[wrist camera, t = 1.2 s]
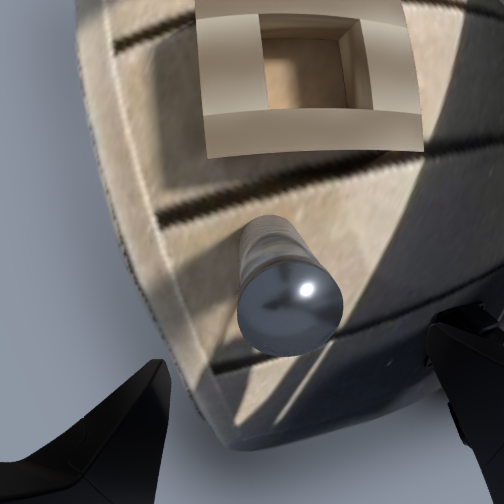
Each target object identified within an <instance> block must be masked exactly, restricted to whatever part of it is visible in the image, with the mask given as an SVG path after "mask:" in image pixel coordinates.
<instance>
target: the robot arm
mask: <svg viewBox="0 0 504 504" xmlns="http://www.w3.org/2000/svg"><path fill="white" fill-rule="evenodd" d="M484 309H485V303H483V302H482V301H481V302H477V303H473V304H470V305H466V306H462V307H459V308H456V309H452V310H448V311H444V312H441V313H440V314H439V315H438V316H437V319H436V323H434V324H432V325H430V327H429V331H428V335H427V339H426V343H425V348H426V351H427V353H428V354H427V357H426V360H425V364H424V366H425V367H426V369H430V368H433V367H434V370H435V372H436V375H437V377H438V379H439V382H440V384H441V386H442V388H443V390H444V392H445V393H446V395H447V397H448V399H449V402H448V407H449V409H450V413H451V415H452V418H453V420H454V423H455V425H456V428H457V430H458V433H459V436H460V438H461V440H462V442H463V444H464V445H468V446H469V447H470V448H472V450H473V452H474V454H475V456H476V459H477V461H478V464H479V466H480V468H481V471H482V474H483V476H484V479H485V481H486V484H487V487H488V489H489V492H490V495H491V498H492V501H493V504H504V331H503V330H502V329H500V328H499V326H500V323H499V322H498V321H497V320H496V319H495V318H493V317H492V316H491V315H490V314H489V313H487V312H486V311H485V310H484ZM441 318H442V319H441ZM170 394H171V378H170V374H169V371H168V368H167V365H166V362H165V361H164V360H163V359H152V360H150V361H149V362H148V363H147V364H145V365H144V366H143V367H142V368H141V369H140V370H139V371H137V372H136V373H135V374H134V375H133V376H131V377H130V378H129V379H128V380H127V381H126V382H124V383H123V384H122V385H121V386H120V387H118V388H117V389H116V390H115V391H114V392H113V393H111V394H110V395H109V396H108V397H107V398H106V399H104V400H103V401H102V402H101V403H100V404H98V405H97V406H96V407H95V408H94V409H93V410H91V411H90V412H89V413H88V414H86V415H85V416H84V418H82V419H80V420H79V421H78V422H77V423H75V424H74V425H73V426H72V427H70V428H69V429H68V430H67V431H65V432H64V433H63V434H61V435H60V436H58V437H57V438H56V439H54V440H53V441H51V442H50V443H48V444H47V445H45V446H43V447H42V448H40V449H39V450H38V451H36V452H34V453H33V454H31V455H30V456H28V457H26V458H24V459H22V460H20V461H16V462H0V504H154V500H155V494H156V488H157V482H158V476H159V470H160V465H161V459H162V454H163V448H164V443H165V438H166V433H167V428H168V421H169V408H170Z"/></svg>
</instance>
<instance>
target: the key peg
mask: <svg viewBox="0 0 504 504" xmlns="http://www.w3.org/2000/svg"><path fill="white" fill-rule="evenodd" d="M239 273H240V290H239V294H238V300H237V319H238V325H239V328H240V331H241V333H242V335H243V336H244V338H245V339H246V340H247V342H248V343H250V344H251V345H252V346H253V347H254V348H256V349H257V350H259V351H261V352H263V353H266V354H269V355H273V356H279V357H291V356H298V355H302V354H305V353H308V352H310V351H312V350H314V349H316V348H318V347H319V346H321V345H322V344H324V343H325V342H326V341H327V340H328V339H329V338H330V337H331V336H332V335H333V333H334V332H335V331H336V329H337V327H338V326H339V323H340V321H341V318H342V314H343V298H342V294H341V291H340V289H339V287H338V285H337V284H336V282H335V281H334V279H333V278H332V276H331V275H330V274H329V272H328V271H327V270H326V269H325V268H324V267H323V266H322V265H321V264H320V263H319V262H318V260H317V259H316V257H315V256H314V254H313V253H312V251H311V250H310V249H309V247H308V246H307V244H306V243H305V241H304V240H303V239H302V237H301V236H300V234H299V233H298V231H297V230H296V229H295V227H294V226H293V225H292V224H291V223H290V222H289V221H288V220H287V219H285V218H283V217H280V216H277V215H263V216H260V217H257V218H255V219H254V220H252V221H251V222H250V223H248V224H247V226H246V227H245V228H244V230H243V232H242V234H241V236H240V242H239Z"/></svg>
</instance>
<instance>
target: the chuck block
mask: <svg viewBox="0 0 504 504" xmlns="http://www.w3.org/2000/svg"><path fill="white" fill-rule="evenodd" d="M195 11H196V29H197V45H198V59H199V73H200V86H201V98H202V109H203V120H204V131H205V141H206V151H207V159H211V158H220V157H229V156H239V155H250V154H262V153H276V152H293V151H315V150H398V151H420V152H424V145H423V128H422V115H421V105H420V96H419V88H418V80H417V74H416V67H415V61H414V56H413V50H412V45H411V41H410V36H409V31H408V27H407V23H406V19H405V15H404V11H403V7H402V4H401V0H195ZM269 38H306V39H327V40H338V41H339V47H340V53H341V60H342V67H343V75H344V83H345V91H346V100H347V109H344V108H295V109H271V110H269V108H268V98H267V88H266V78H265V68H264V59H263V50H262V41H261V39H269Z"/></svg>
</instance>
